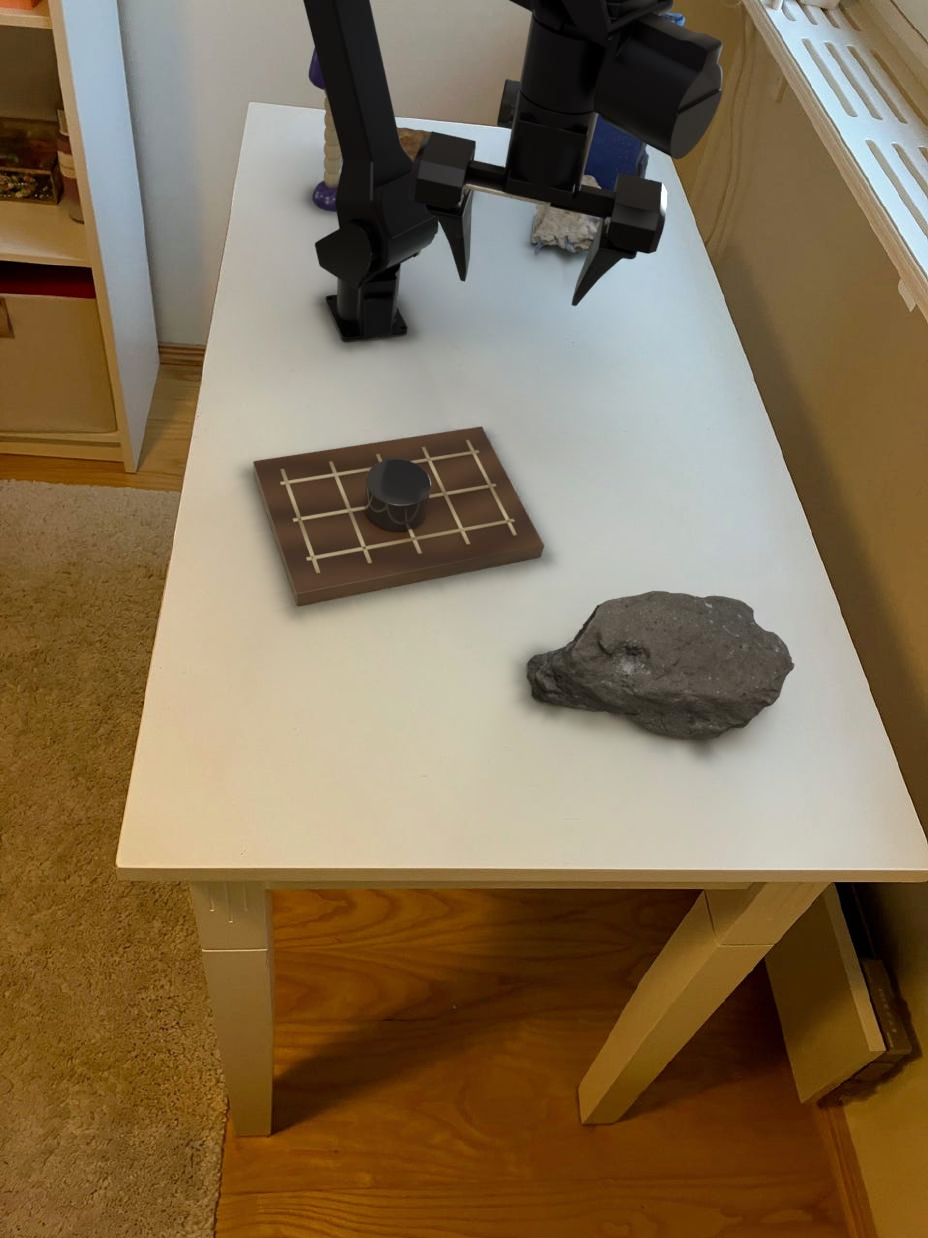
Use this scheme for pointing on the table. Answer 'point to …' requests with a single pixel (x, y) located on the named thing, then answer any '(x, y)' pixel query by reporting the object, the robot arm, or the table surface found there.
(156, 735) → the table surface
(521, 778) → the table surface
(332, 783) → the table surface
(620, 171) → the book
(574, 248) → the mineral specimen
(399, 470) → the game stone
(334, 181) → the toy lamp
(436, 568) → the game board
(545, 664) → the stone
